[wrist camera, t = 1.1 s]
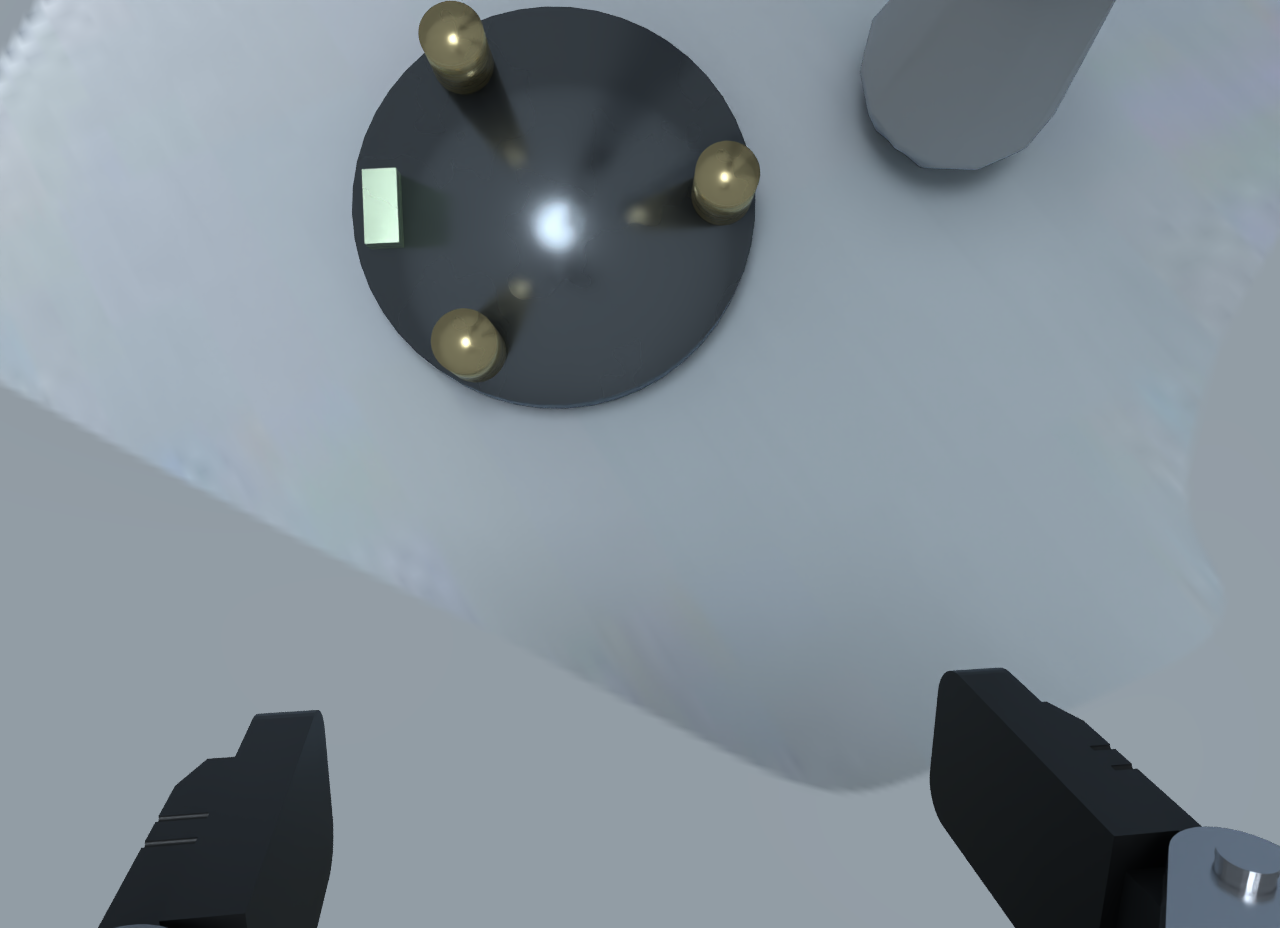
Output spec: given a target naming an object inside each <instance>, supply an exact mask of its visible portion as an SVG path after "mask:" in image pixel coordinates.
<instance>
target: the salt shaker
mask: <svg viewBox="0 0 1280 928" xmlns="http://www.w3.org/2000/svg"><path fill="white" fill-rule="evenodd" d="M1114 2H1115V0H890V1H889V2H888V3H887V4H886V5H885V6H884V7H883V8H882V10H881V11H880V12H879V13H878V14H877V15H876V16H875V17H874V18H873V20H872V23H871V28H870V32H869V36H868V40H867V44H866V48H865V52H864V56H863V60H862V65H861V70H860V74H861V79H862V84H863V89H864V95H865V100H866V105H867V110H868V114H869V116H870V118H871V121H872V123H873V125H874V127H875V129H876V131H878V132H879V133H880V134H881V135H882V136H884V137H885V138H886V139H887V140H888V141H890V143H891V144H892V145H893V147H894V148H895V149H897V150H899V151H901V152H903V153H904V154H905V155H906V156H908V157H909V158H910V159H911V160H912V161H913V162H915V163H916V164H917V165H918V166H919V167H922V168H938V169H967V170H978V169H980V168H983V167H985V166H987V165H989V164H992V163H994V162H996V161H999V160H1001V159H1003V158H1006V157H1008V156H1010V155H1013V154H1015V153H1017V152H1019V151H1021V150H1023V149H1025V148H1026V147H1027V146H1028V145H1029V144H1030V143H1031V141H1032V140H1033V139H1034V138H1035V137H1036V135H1037V134H1038V133H1039V132H1040V131H1041V129H1042V128H1043V127H1044V126H1045V125H1046V123H1047V122H1048V121H1049V120H1050V119H1051V117H1052V116H1053V115H1054V114H1055V112H1056V110H1057V108H1058V106H1059V105H1060V103H1061V101H1062V99H1063V97H1064V95H1065V93H1066V92H1067V90H1068V88H1069V86H1070V84H1071V82H1072V80H1073V79H1074V77H1075V75H1076V73H1077V71H1078V69H1079V67H1080V66H1081V64H1082V62H1083V60H1084V58H1085V56H1086V54H1087V53H1088V51H1089V49H1090V47H1091V45H1092V43H1093V41H1094V40H1095V38H1096V36H1097V34H1098V32H1099V30H1100V28H1101V26H1102V25H1103V23H1104V21H1105V19H1106V17H1107V15H1108V13H1109V12H1110V10H1111V8H1112V6H1113V4H1114Z"/></svg>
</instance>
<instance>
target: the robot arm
mask: <svg viewBox="0 0 1280 928" xmlns="http://www.w3.org/2000/svg"><path fill="white" fill-rule="evenodd" d="M930 790H931V796H932V800H933V804H934V808H935V811H936V813H937V816H938V818H939V820H940V822H941V824H942V825H943V827H944V828H945V829H946V831H947V832H948V834H949V835H950V837H951V838H952V839H953V841H954V842H955V844H956V845H957V846H958V848H959V849H960V851H961V852H962V853H963V855H964V856H965V858H966V859H967V861H968V862H969V863H970V865H971V866H972V867H973V869H974V870H975V872H976V873H977V874H978V876H979V877H980V879H981V880H982V882H983V883H984V885H985V886H986V887H987V889H988V890H989V891H990V893H991V894H992V896H993V897H994V899H995V900H996V901H997V903H998V904H999V906H1000V907H1001V908H1002V910H1003V911H1004V913H1005V914H1006V916H1007V917H1008V918H1009V920H1010V921H1011V923H1012V924H1013V925H1014V927H1015V928H1280V846H1278V845H1276V844H1274V843H1272V842H1270V841H1268V840H1265V839H1263V838H1260V837H1257V836H1254V835H1252V834H1248V833H1245V832H1242V831H1237V830H1233V829H1227V828H1221V827H1202V826H1201V825H1199V824H1198V823H1197V822H1196V821H1195V820H1194V819H1193V818H1192V817H1191V816H1190V815H1188V814H1187V813H1186V812H1185V811H1184V810H1183V809H1182V808H1181V807H1179V806H1178V805H1177V804H1176V803H1175V802H1174V801H1173V800H1171V799H1170V798H1169V797H1168V796H1167V795H1166V794H1165V793H1164V792H1163V791H1162V790H1160V789H1159V788H1158V787H1157V786H1156V785H1155V784H1154V783H1153V782H1151V781H1150V780H1149V779H1148V778H1147V777H1146V776H1145V775H1144V774H1143V773H1141V772H1140V771H1139V770H1138V769H1133V768H1132V764H1131V763H1130V762H1129V761H1128V760H1127V759H1126V758H1125V757H1124V756H1122V755H1121V754H1120V753H1119V752H1118V751H1117V750H1116V749H1111V748H1110V744H1109V743H1108V742H1107V741H1106V740H1105V739H1103V738H1102V737H1101V736H1100V735H1099V734H1098V733H1097V732H1096V731H1094V730H1093V729H1092V728H1091V727H1090V726H1089V725H1088V724H1087V723H1085V722H1084V721H1083V720H1081V719H1079V718H1077V717H1075V716H1073V715H1071V714H1069V713H1067V712H1065V711H1064V710H1062V709H1060V708H1058V707H1056V706H1054V705H1052V704H1050V703H1048V702H1041V701H1040V700H1039V699H1038V698H1037V697H1036V696H1035V695H1034V694H1033V693H1031V692H1030V691H1029V690H1028V689H1027V688H1026V687H1025V686H1024V685H1023V684H1022V683H1021V682H1020V681H1019V680H1017V679H1016V678H1015V677H1014V676H1013V675H1012V674H1011V673H1010V672H1009V671H1007V670H1006V669H1004V668H987V669H971V670H956V671H948V672H946V673H945V674H944V675H943V676H942V678H941V680H940V684H939V689H938V697H937V707H936V717H935V727H934V737H933V747H932V757H931V767H930ZM332 854H333V816H332V806H331V794H330V784H329V772H328V761H327V749H326V738H325V728H324V721H323V717H322V714H321V712H320V711H319V710H311V711H297V712H279V713H264V714H256V715H255V716H254V718H253V720H252V722H251V724H250V726H249V728H248V730H247V733H246V735H245V737H244V739H243V741H242V743H241V745H240V748H239V750H238V752H237V754H236V756H235V757H228V758H213V759H207V760H206V761H205V762H203V763H202V764H201V765H200V766H198V767H197V768H196V769H195V770H194V771H193V772H191V773H190V774H189V775H188V776H187V777H185V778H184V779H183V780H182V781H180V782H179V783H178V784H177V785H176V786H175V787H174V789H173V791H172V793H171V794H170V796H169V798H168V800H167V802H166V804H165V805H164V808H163V809H162V811H161V813H160V815H159V821H158V822H155V824H154V826H153V828H152V830H151V831H150V833H149V835H148V837H147V839H146V840H145V847H144V848H141V850H140V852H139V853H138V855H137V857H136V859H135V861H134V863H133V864H132V866H131V868H130V870H129V872H128V874H127V875H126V877H125V879H124V881H123V883H122V885H121V887H120V889H119V890H118V892H117V894H116V896H115V898H114V899H113V902H112V903H111V905H110V907H109V909H108V910H107V912H106V914H105V916H104V918H103V920H102V922H101V923H100V925H99V927H98V928H317V926H318V922H319V917H320V913H321V909H322V905H323V901H324V897H325V892H326V889H327V884H328V880H329V876H330V871H331V863H332Z"/></svg>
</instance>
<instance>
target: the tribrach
mask: <svg viewBox="0 0 1280 928" xmlns="http://www.w3.org/2000/svg"><path fill="white" fill-rule="evenodd" d="M419 40H420V44H421V46H422V48H423V50H424V52H425V53H424V54H423V55H422V56H421V57H420V58H419V59H418V60H417V61H416V62H415V63H413V64H412V65H411V66H410V67H409V68H408V69H407V70H406V71H405V72H404V73H403V75H402V76H401V77H400V78H399V80H398V81H397V82H396V83H395V84H394V86H393V87H392V88H391V89H390V91H389V92H388V94H387V95H386V97H385V98H384V100H383V102H382V103H381V105H380V107H379V108H378V110H377V111H376V113H375V115H374V117H373V120H372V122H371V124H370V126H369V128H368V131H367V133H366V135H365V137H364V141H363V144H362V147H361V151H360V154H359V157H358V160H357V166H356V172H355V178H354V184H353V202H352V217H353V226H354V236H355V242H356V246H357V250H358V255H359V259H360V263H361V266H362V269H363V271H364V274H365V277H366V279H367V282H368V284H369V287H370V289H371V291H372V293H373V295H374V297H375V299H376V300H377V302H378V304H379V306H380V308H381V309H382V311H383V313H384V314H385V316H386V317H387V318H388V320H389V321H390V322H391V324H392V325H393V326H394V328H395V329H396V331H397V332H398V333H399V334H400V335H401V336H402V337H403V338H404V339H405V341H406V342H407V343H408V344H409V345H410V346H411V347H412V348H413V349H414V350H415V351H416V352H417V353H418V354H420V355H421V356H422V357H423V358H425V359H426V360H427V361H428V362H430V363H431V364H432V365H433V366H435V367H436V368H437V369H439V370H440V371H442V372H443V373H445V374H446V375H448V376H449V377H451V378H453V379H454V380H456V381H458V382H459V383H461V384H463V385H464V386H466V387H468V388H470V389H473V390H475V391H477V392H479V393H482V394H484V395H486V396H489V397H491V398H495V399H498V400H502V401H505V402H509V403H512V404H516V405H523V406H530V407H537V408H575V407H583V406H592V405H596V404H600V403H604V402H608V401H612V400H616V399H618V398H621V397H624V396H626V395H629V394H631V393H634V392H636V391H639V390H641V389H643V388H645V387H646V386H648V385H650V384H652V383H654V382H655V381H657V380H659V379H661V378H662V377H664V376H665V375H667V374H668V373H669V372H671V371H672V370H673V369H675V368H676V367H677V366H679V365H680V364H681V363H683V362H684V361H685V360H686V359H687V358H688V357H689V356H690V355H691V354H692V353H693V352H694V351H695V350H696V349H697V348H698V347H699V346H700V345H701V344H702V343H703V342H704V340H705V339H706V338H707V337H708V335H709V334H710V333H711V332H712V330H713V329H714V328H715V327H716V325H717V324H718V322H719V320H720V319H721V317H722V315H723V314H724V312H725V310H726V309H727V307H728V305H729V304H730V301H731V299H732V297H733V295H734V293H735V290H736V288H737V286H738V283H739V281H740V279H741V276H742V274H743V272H744V269H745V265H746V261H747V258H748V254H749V251H750V247H751V242H752V235H753V228H754V221H755V191H756V188H757V186H758V183H759V179H760V167H759V163H758V160H757V158H756V157H755V155H754V154H753V152H752V151H751V150H750V149H749V148H747V147H746V144H745V141H744V139H743V136H742V134H741V131H740V129H739V127H738V124H737V122H736V119H735V117H734V116H733V114H732V112H731V110H730V109H729V107H728V105H727V103H726V102H725V100H724V98H723V96H722V95H721V94H720V92H719V91H718V90H717V88H716V87H715V86H714V84H713V83H712V82H711V81H710V79H709V78H708V77H707V75H706V74H705V73H704V72H703V71H702V70H701V69H700V68H699V67H698V66H697V65H696V64H695V63H694V62H693V61H692V60H691V59H690V58H689V57H688V56H686V55H685V54H684V53H682V52H681V51H680V50H679V49H677V48H676V47H675V46H673V45H672V44H671V43H670V42H668V41H667V40H665V39H663V38H662V37H660V36H658V35H656V34H655V33H653V32H651V31H650V30H648V29H646V28H644V27H642V26H639V25H637V24H635V23H632V22H630V21H628V20H625V19H623V18H620V17H616V16H613V15H609V14H606V13H602V12H599V11H594V10H587V9H580V8H573V7H538V8H529V9H520V10H515V11H511V12H507V13H503V14H499V15H495V16H492V17H489V18H486V19H484V20H480V18H479V16H478V15H477V13H476V12H475V11H474V10H473V9H472V8H471V7H469V6H468V5H466V4H464V3H461V2H457V1H445V2H441V3H438V4H436V5H434V6H433V7H431V8H430V9H429V10H428V11H427V12H426V13H425V14H424V16H423V18H422V20H421V22H420V25H419Z"/></svg>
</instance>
